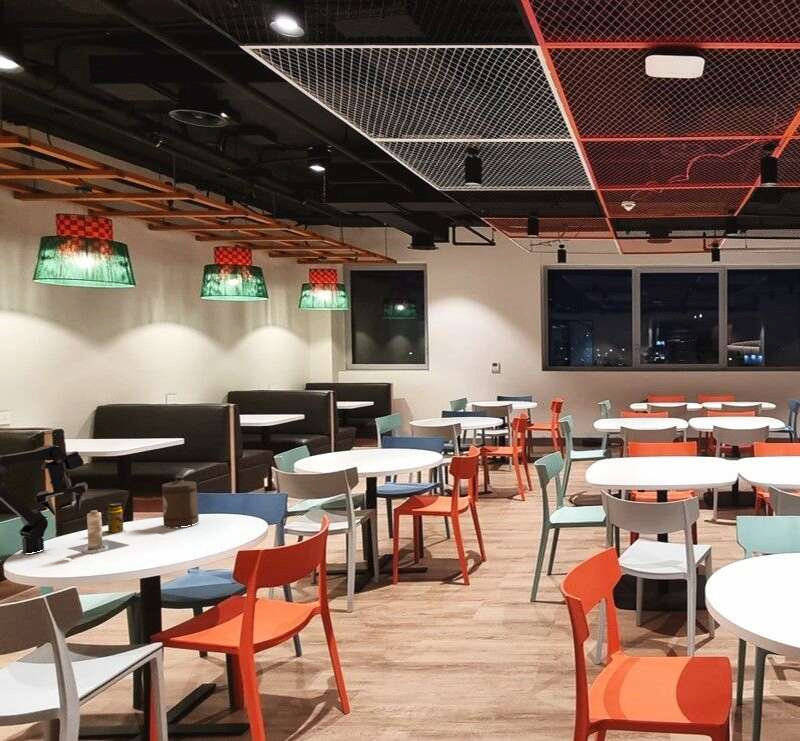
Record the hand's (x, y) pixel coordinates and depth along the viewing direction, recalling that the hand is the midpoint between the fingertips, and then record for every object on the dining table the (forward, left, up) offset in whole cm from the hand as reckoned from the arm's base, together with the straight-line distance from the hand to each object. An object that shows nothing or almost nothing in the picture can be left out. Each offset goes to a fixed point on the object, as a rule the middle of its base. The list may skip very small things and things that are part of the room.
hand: (67, 512), depth 295 cm
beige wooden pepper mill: (-1, -23, -12) cm, 26 cm away
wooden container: (+46, -10, -13) cm, 49 cm away
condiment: (+22, +4, -13) cm, 26 cm away
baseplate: (+3, -18, -13) cm, 22 cm away
